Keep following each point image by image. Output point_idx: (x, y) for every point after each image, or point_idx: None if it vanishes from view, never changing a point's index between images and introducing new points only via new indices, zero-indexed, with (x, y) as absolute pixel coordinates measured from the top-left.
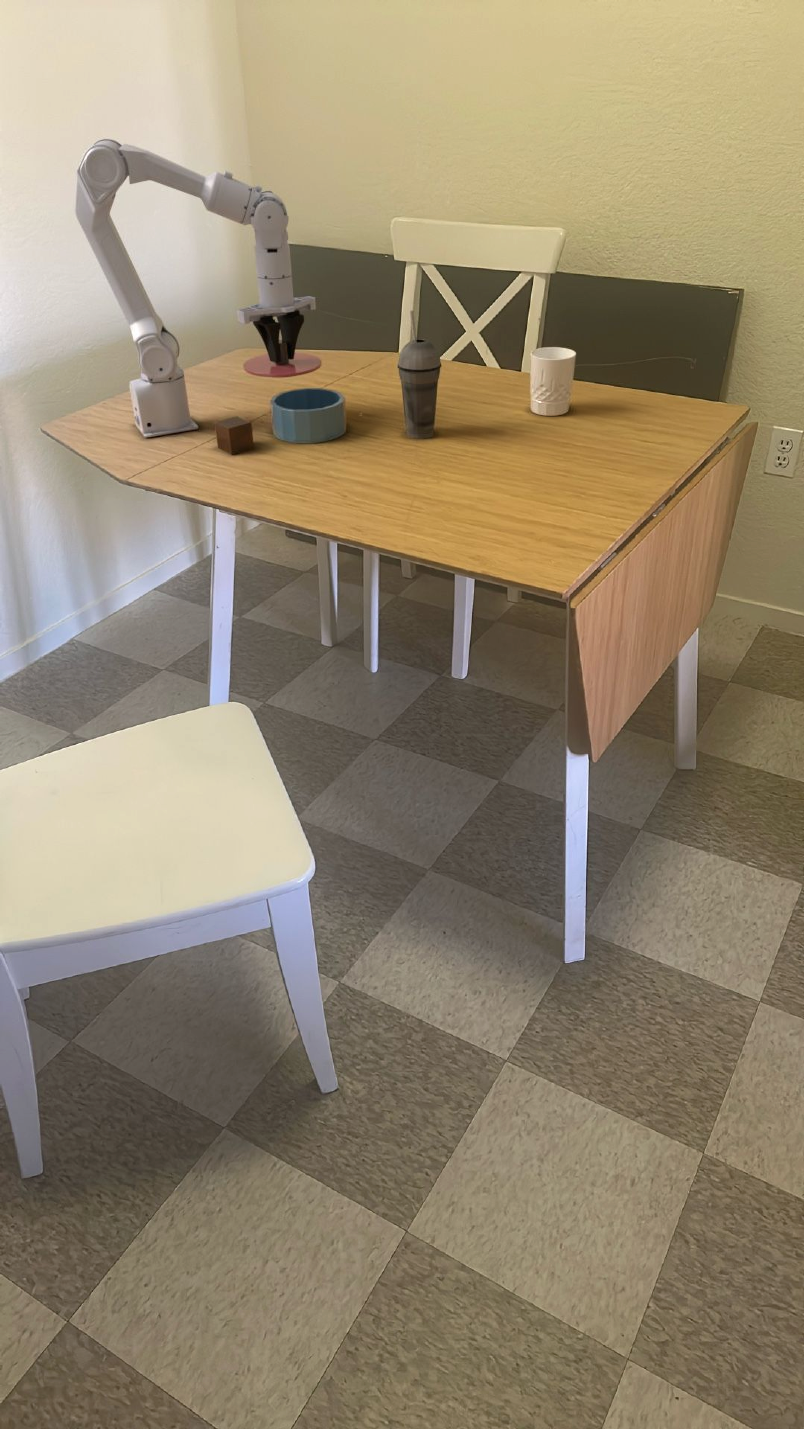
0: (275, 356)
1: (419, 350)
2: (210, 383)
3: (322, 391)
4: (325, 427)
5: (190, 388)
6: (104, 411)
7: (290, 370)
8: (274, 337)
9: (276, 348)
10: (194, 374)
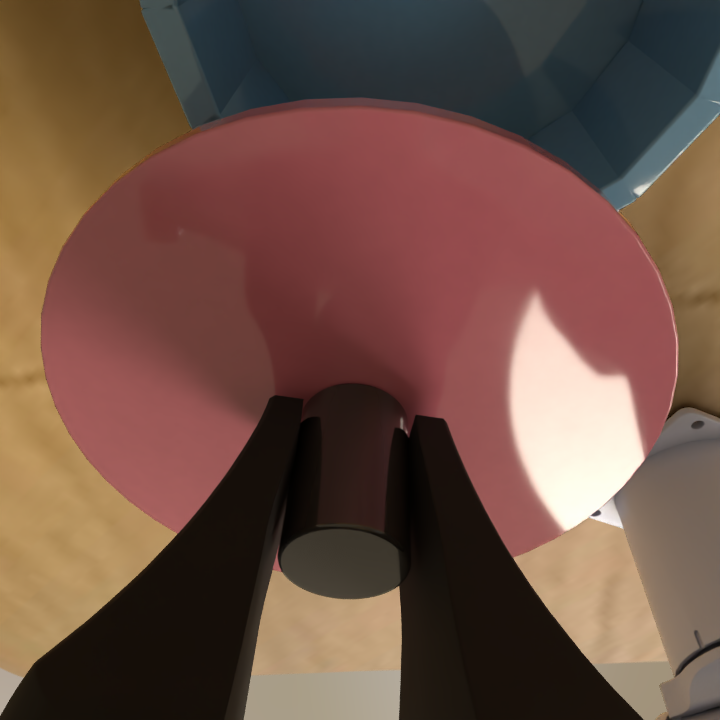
0: (457, 459)
1: None
2: (280, 614)
3: (208, 75)
4: None
5: (350, 621)
6: (633, 645)
7: (478, 248)
8: (514, 605)
9: (464, 505)
10: (262, 663)
